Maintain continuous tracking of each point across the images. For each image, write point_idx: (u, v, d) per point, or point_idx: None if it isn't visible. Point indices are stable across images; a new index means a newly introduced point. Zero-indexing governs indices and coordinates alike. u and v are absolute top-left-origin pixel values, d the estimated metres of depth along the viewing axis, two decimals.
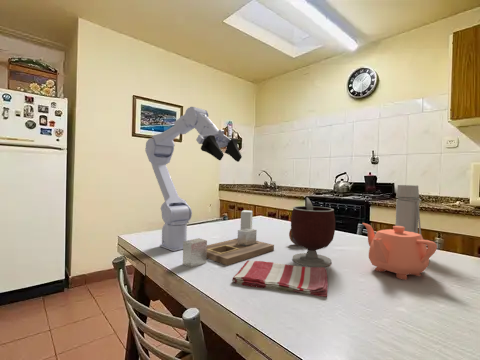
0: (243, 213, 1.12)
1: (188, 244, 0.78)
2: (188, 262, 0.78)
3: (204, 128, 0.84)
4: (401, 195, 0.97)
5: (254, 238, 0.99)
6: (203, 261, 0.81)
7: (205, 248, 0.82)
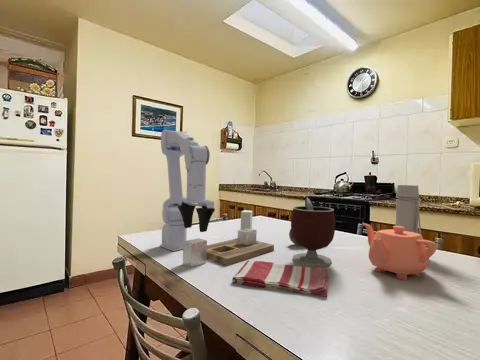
0: (243, 213, 1.12)
1: (188, 244, 0.78)
2: (188, 262, 0.78)
3: None
4: (401, 195, 0.97)
5: (254, 238, 0.99)
6: (203, 261, 0.81)
7: (205, 248, 0.82)
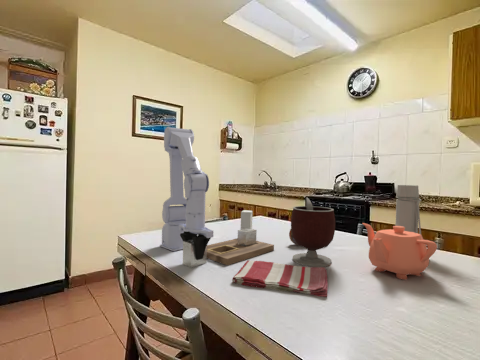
0: (243, 213, 1.12)
1: (188, 244, 0.78)
2: (188, 262, 0.78)
3: None
4: (401, 195, 0.97)
5: (254, 238, 0.99)
6: (203, 260, 0.81)
7: None
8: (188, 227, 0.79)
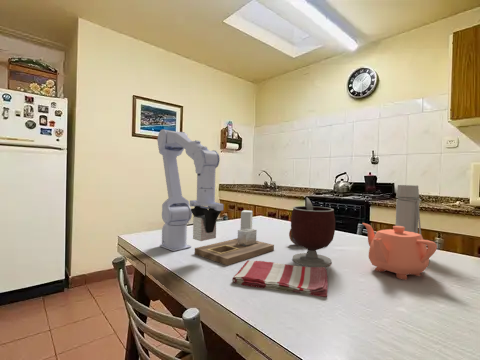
0: (243, 213, 1.12)
1: (198, 219, 0.81)
2: (198, 236, 0.81)
3: None
4: (401, 195, 0.97)
5: (254, 238, 0.99)
6: (212, 235, 0.84)
7: None
8: (199, 201, 0.81)
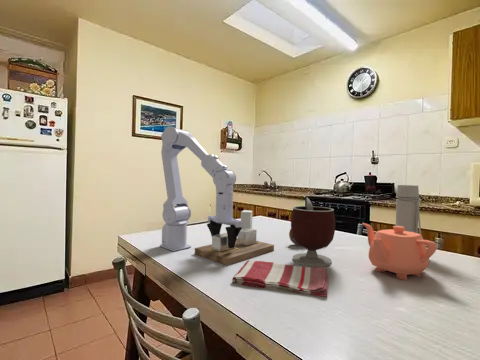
0: (243, 213, 1.12)
1: (217, 238, 0.87)
2: None
3: None
4: (401, 195, 0.97)
5: (254, 238, 0.99)
6: None
7: None
8: (218, 218, 0.87)
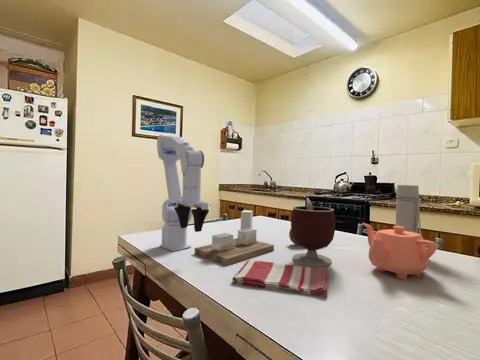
0: (243, 213, 1.12)
1: (217, 238, 0.87)
2: None
3: None
4: (401, 195, 0.97)
5: (254, 238, 0.99)
6: None
7: (232, 242, 0.90)
8: (184, 200, 0.83)
